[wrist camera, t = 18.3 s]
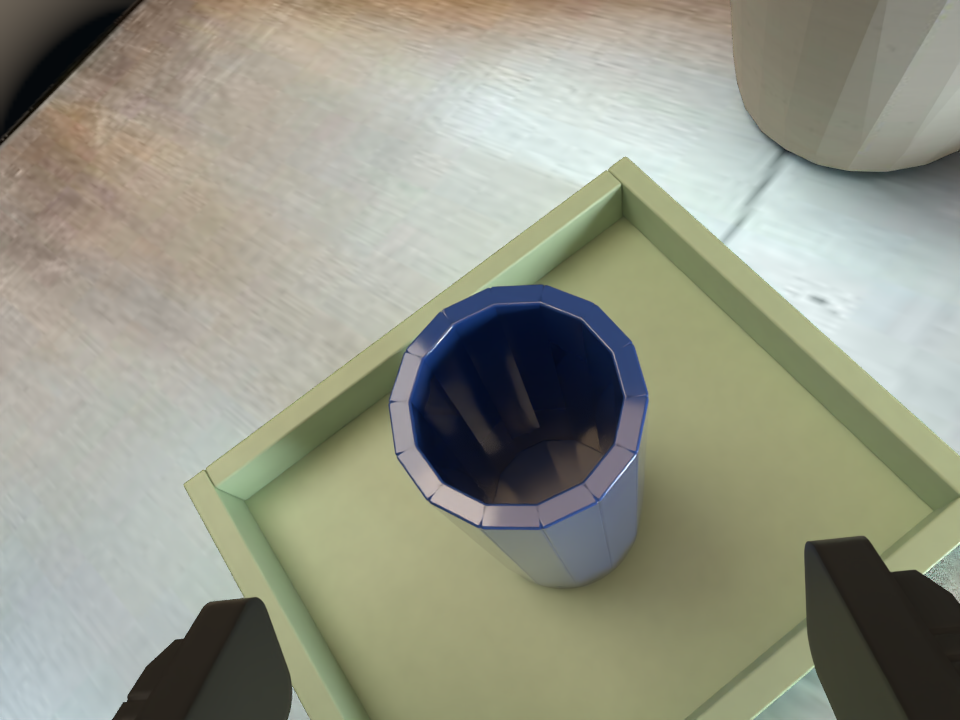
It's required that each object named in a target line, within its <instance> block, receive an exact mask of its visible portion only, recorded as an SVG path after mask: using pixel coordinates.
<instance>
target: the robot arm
mask: <svg viewBox="0 0 960 720" xmlns="http://www.w3.org/2000/svg"><path fill="white" fill-rule="evenodd" d="M804 565H805V593H806V621H807V635H808V641H809V647H810V651H811V656H812V659H813V663H814V666H815V669H816V672H817V675H818V677H819V680H820V682H821V684H822V686H823V689H824V691H825V693H826V696H827V698H828V700H829V702H830V705H831V707H832V709H833V711H834V714H835V716H836V718H837V720H960V604H959V603H958V601H957V600H956V599H955V597H954V596H953V595H952V594H951V593H950V592H948V591H947V590H945V589H944V588H942V587H941V586H939V585H938V584H936V583H935V582H933V581H932V580H930V579H929V578H927V577H926V576H925V575H923V574H922V573H920V572H919V571H917V570H916V569H915V570H905V571H895V572H890V571H889V569H888V568H887V566H886V565H885V563H884V562H883V560H882V559H881V557H880V556H879V554H878V553H877V551H876V550H875V548H874V547H873V545H872V544H871V542H870V541H869V539H867V538H866V537H865V536H853V537H843V538H833V539H824V540H814V541H807V542H806V544H805V548H804ZM127 697H128V700H127V702H123V704H122V705H121V707H120V708H119V710H118V711H117V713H116V714H115V716H114V718H113V719H112V720H287V719H288V716H289V713H290V708H291V701H292V683H291V677H290V672H289V669H288V666H287V664H286V661H285V658H284V655H283V653H282V650H281V647H280V644H279V641H278V639H277V636H276V633H275V630H274V628H273V625H272V622H271V619H270V616H269V614H268V611H267V608H266V606H265V604H264V602H263V601H262V600H261V599H260V598H258V597H251V598H241V599H232V600H222V601H213V602H209V603H207V604H206V605H205V606H204V607H203V608H202V610H201V611H200V613H199V615H198V616H197V618H196V619H195V621H194V623H193V624H192V626H191V628H190V629H189V631H188V633H187V634H186V636H185V638H184V639H176V640H174V641H173V642H172V643H171V644H170V645H169V646H168V647H167V648H166V649H165V650H164V651H163V652H161V653H160V654H159V655H158V656H157V657H156V658H155V659H154V660H153V661H152V662H151V663H150V664H149V665H147V666H146V668H145V669H144V671H143V673H142V674H141V676H140V677H139V679H138V680H137V682H136V683H135V685H134V686H133V688H132V690H131V691H130V693H129V694H128V696H127Z"/></svg>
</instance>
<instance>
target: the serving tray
mask: <svg viewBox="0 0 960 720" xmlns="http://www.w3.org/2000/svg"><path fill="white" fill-rule="evenodd" d="M536 284H543V285H544V286H545V285H549V286H551V287H554V288H556V289H559V290H562V291H564V292H567V293H570V294H572V295H575V296H577V297H580V298H583V299H585V300H588V301H591V302H593V303H594V304H595V305H598V306H599V307H600V308H601V309H602V310H603V311H604V312H605V313H606V315H607V316H608V317H609V318H610V319H611V320H612V321H613V322H614V323H615V324H616V325H617V326H618V327H619V328H620V329H621V330H622V331H623V332H624V333H625V334H626V335H627V337H628V338H629V339H630V340H631V341H632V343H633V345H634V346H635V349H636V352H637V356H638V359H639V362H640V366H641V369H642V373H643V376H644V379H645V383H646V386H647V390H648V393H649V410H648V427H647V445H646V462H645V479H644V496H643V508H642V513H641V519H640V526H639V530H638V534H637V538H636V540H635V542H634V544H633V547H632V549H631V550H630V552H629V553H628V555H627V557H626V558H625V559H624V560H623V561H622V563H621V564H620V565H619V566H618V567H617V568H616V569H615V570H614V571H613V572H611V573H610V574H608V575H607V576H605V577H604V578H602V579H600V580H598V581H596V582H595V583H592V584H589V585H586V586H583V587H578V588H573V589H554V588H548V587H543V586H540V585H537V584H534V583H532V582H530V581H528V580H526V579H524V578H522V577H521V576H519V575H518V574H516V573H515V572H513V571H511V570H509V569H507V568H506V567H505V566H504V565H503V564H501V563H500V562H499V561H498V560H497V559H495V558H494V557H493V556H492V555H491V554H489V553H488V552H487V551H486V550H485V549H483V548H482V547H481V546H480V545H479V544H478V543H476V542H475V541H474V540H473V539H472V538H470V537H469V536H468V535H467V534H466V533H464V532H463V531H462V530H461V529H460V528H458V527H457V526H456V525H455V524H454V523H453V522H451V521H450V520H449V519H448V518H447V517H445V516H444V515H443V514H442V513H441V512H439V511H438V510H437V509H436V508H435V507H433V506H432V505H431V504H430V503H429V502H428V501H427V500H426V499H425V498H424V497H423V495H422V494H421V492H420V491H419V489H418V488H417V487H416V485H415V484H414V482H413V481H412V480H411V478H410V477H409V475H408V474H407V472H406V471H405V470H404V468H403V467H402V465H401V464H400V462H399V461H398V460H397V456H396V455H395V451H394V443H393V436H392V429H391V422H390V415H389V407H388V404H389V398H390V394H391V391H392V388H393V385H394V382H395V379H396V376H397V373H398V370H399V367H400V363H401V360H402V357H403V354H404V352H406V349H407V347H408V346H409V345H410V344H411V343H412V342H413V341H414V340H415V339H416V337H417V336H418V335H419V334H420V333H421V332H422V331H423V330H424V328H425V327H426V326H427V325H428V324H429V323H430V322H431V321H432V320H433V318H434V317H435V316H436V315H437V314H438V313H439V312H440V311H441V312H442V310H443V309H445V308H447V307H449V306H451V305H453V304H455V303H457V302H459V301H461V300H463V299H466V298H468V297H470V296H472V295H474V294H476V293H478V292H480V291H482V290H484V289H487V288H491V287H496V286H516V285H536ZM184 487H185V489H186V491H187V493H188V495H189V497H190V498H191V500H192V502H193V504H194V506H195V508H196V509H197V511H198V513H199V515H200V517H201V519H202V521H203V522H204V524H205V526H206V528H207V530H208V532H209V533H210V535H211V537H212V539H213V541H214V543H215V545H216V546H217V548H218V550H219V552H220V554H221V556H222V557H223V559H224V561H225V563H226V565H227V567H228V568H229V570H230V572H231V574H232V576H233V578H234V580H235V581H236V583H237V585H238V587H239V589H240V591H241V592H242V594H243V596H244V598H251V597H258V598H260V599H261V600H262V601H263V602H264V604H265V606H266V608H267V611H268V614H269V616H270V619H271V622H272V625H273V628H274V630H275V633H276V636H277V639H278V641H279V644H280V647H281V650H282V653H283V655H284V658H285V661H286V664H287V666H288V669H289V672H290V677H291V683H292V687H293V688H294V690H295V692H296V694H297V696H298V698H299V699H300V701H301V703H302V705H303V707H304V709H305V711H306V712H307V714H308V716H309V718H310V720H753V719H754V718H755V717H756V716H758V715H759V714H760V713H761V712H762V711H763V710H765V709H766V708H767V707H768V706H769V705H771V704H772V703H773V702H774V701H775V700H776V699H778V698H779V697H780V696H781V695H782V694H784V693H785V692H786V691H787V690H788V689H789V688H791V687H792V686H793V685H794V684H795V683H797V682H798V681H799V680H800V679H801V678H802V677H804V676H805V675H806V674H807V673H808V672H810V671H811V670H812V669H813V668H814V667H815V666H814V663H813V659H812V656H811V651H810V647H809V641H808V635H807V621H806V593H805V565H804V548H805V544H806V542H807V541H814V540H824V539H833V538H843V537H853V536H865V537H866V538H867V539H869V541H870V542H871V544H872V545H873V547H874V548H875V550H876V551H877V553H878V554H879V556H880V557H881V559H882V560H883V562H884V563H885V565H886V566H887V568H888V569H889V571H890V572H895V571H905V570H915V569H916V570H917V571H919V572H920V573H922V574H923V575H924V574H925V573H926V572H928V571H929V570H930V569H931V568H932V567H934V566H935V565H936V564H937V563H938V562H939V561H941V560H942V559H943V558H944V557H945V556H946V555H948V554H949V553H950V552H951V551H952V550H954V549H955V548H956V547H957V546H958V545H959V544H960V456H959V455H958V454H957V453H956V452H955V451H954V450H952V449H951V448H950V447H949V446H948V445H947V444H946V443H945V442H944V441H942V440H941V439H940V438H939V437H938V436H937V435H936V434H935V433H934V432H932V431H931V430H930V429H929V428H928V427H927V426H926V425H925V424H923V423H922V422H921V421H920V420H919V419H918V418H917V417H916V416H915V415H913V414H912V413H911V412H910V411H909V410H908V409H907V408H906V407H905V406H903V405H902V404H901V403H900V402H899V401H898V400H897V399H896V398H895V397H893V396H892V395H891V394H890V393H889V392H888V391H887V390H886V389H885V388H883V387H882V386H881V385H880V384H879V383H878V382H877V381H876V380H875V379H873V378H872V377H871V376H870V375H869V374H868V373H867V372H866V371H865V370H863V369H862V368H861V367H860V366H859V365H858V364H857V363H856V362H854V361H853V360H852V359H851V358H850V357H849V356H848V355H847V354H846V353H844V352H843V351H842V350H841V349H840V348H839V347H838V346H837V345H836V344H834V343H833V342H832V341H831V340H830V339H829V338H828V337H827V336H826V335H824V334H823V333H822V332H821V331H820V330H819V329H818V328H817V327H816V326H814V325H813V324H812V323H811V322H810V321H809V320H808V319H807V318H806V317H804V316H803V315H802V314H801V313H800V312H799V311H798V310H797V309H795V308H794V307H793V306H792V305H791V304H790V303H789V302H788V301H787V300H785V299H784V298H783V297H782V296H781V295H780V294H779V293H778V292H777V291H775V290H774V289H773V288H772V287H771V286H770V285H769V284H768V283H767V282H765V281H764V280H763V279H762V278H761V277H760V276H759V275H758V274H757V273H755V272H754V271H753V270H752V269H751V268H750V267H749V266H748V265H747V264H745V263H744V262H743V261H742V260H741V259H740V258H739V257H738V256H737V255H735V254H734V253H733V252H732V251H731V250H730V249H729V248H728V247H726V246H725V245H724V244H723V243H722V242H721V241H720V240H719V239H718V238H716V237H715V236H714V235H713V234H712V233H711V232H710V231H709V230H708V229H706V228H705V227H704V226H703V225H702V224H701V223H700V222H699V221H698V220H696V219H695V218H694V217H693V216H692V215H691V214H690V213H689V212H688V211H686V210H685V209H684V208H683V207H682V206H681V205H680V204H679V203H678V202H676V201H675V200H674V199H673V198H672V197H671V196H670V195H669V194H667V193H666V192H665V191H664V190H663V189H662V188H661V187H660V186H659V185H657V184H656V183H655V182H654V181H653V180H652V179H651V178H650V177H649V176H647V175H646V174H645V173H644V172H643V171H642V170H641V169H640V168H639V167H637V166H636V165H635V164H634V163H633V162H632V161H631V160H630V159H629V158H627V157H623V158H622V159H621V160H619V161H618V162H617V163H615V164H614V165H613V166H611V167H610V168H609V169H608V171H607V170H606V171H604V172H603V173H602V174H600V175H599V176H598V177H596V178H595V179H594V180H592V181H591V182H590V183H588V184H587V185H586V186H584V187H583V188H582V189H580V190H579V191H577V192H576V193H575V194H573V195H572V196H571V197H569V198H568V199H567V200H565V201H564V202H563V203H561V204H560V205H559V206H557V207H556V208H555V209H553V210H552V211H551V212H549V213H548V214H547V215H545V216H544V217H543V218H541V219H540V220H539V221H537V222H536V223H534V224H533V225H532V226H530V227H529V228H528V229H526V230H525V231H524V232H522V233H521V234H520V235H518V236H517V237H516V238H514V239H513V240H512V241H510V242H509V243H508V244H506V245H505V246H504V247H502V248H501V249H500V250H498V251H497V252H496V253H494V254H493V255H491V256H490V257H489V258H487V259H486V260H485V261H483V262H482V263H481V264H479V265H478V266H477V267H475V268H474V269H473V270H471V271H470V272H469V273H467V274H466V275H465V276H463V277H462V278H461V279H459V280H458V281H457V282H455V283H454V284H453V285H451V286H450V287H448V288H447V289H446V290H444V291H443V292H442V293H440V294H439V295H438V296H436V297H435V298H434V299H432V300H431V301H430V302H428V303H427V304H426V305H424V306H423V307H422V308H420V309H419V310H418V311H416V312H415V313H414V314H412V315H411V316H410V317H408V318H407V319H405V320H404V321H403V322H401V323H400V324H399V325H397V326H396V327H395V328H393V329H392V330H391V331H389V332H388V333H387V334H385V335H384V336H383V337H381V338H380V339H379V340H377V341H376V342H375V343H373V344H372V345H371V346H369V347H368V348H366V349H365V350H364V351H362V352H361V353H360V354H358V355H357V356H356V357H354V358H353V359H352V360H350V361H349V362H348V363H346V364H345V365H344V366H342V367H341V368H340V369H338V370H337V371H336V372H334V373H333V374H332V375H330V376H329V377H328V378H326V379H325V380H323V381H322V382H321V383H319V384H318V385H317V386H315V387H314V388H313V389H311V390H310V391H309V392H307V393H306V394H305V395H303V396H302V397H301V398H299V399H298V400H297V401H295V402H294V403H293V404H291V405H290V406H289V407H287V408H286V409H285V410H283V411H282V412H280V413H279V414H278V415H276V416H275V417H274V418H272V419H271V420H270V421H268V422H267V423H266V424H264V425H263V426H262V427H260V428H259V429H258V430H256V431H255V432H254V433H252V434H251V435H250V436H248V437H247V438H246V439H244V440H243V441H242V442H240V443H239V444H237V445H236V446H235V447H233V448H232V449H231V450H229V451H228V452H227V453H225V454H224V455H223V456H221V457H220V458H219V459H217V460H216V461H215V462H213V463H212V464H211V465H209V466H208V467H207V468H206V470H202V471H201V472H199V473H198V474H197V475H195V476H194V477H193V478H191V479H190V480H189V481H187V482H186V483H185V484H184Z"/></svg>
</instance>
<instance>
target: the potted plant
mask: <svg viewBox="0 0 960 720" xmlns="http://www.w3.org/2000/svg"><path fill="white" fill-rule="evenodd" d="M730 4H731V22H732V40H733V57H734V64H735V71H736V78H737V84H738V87H739V90H740V93H741V96H742V100H743V103H744V106H745V108H746V110H747V111H748V113H749V114H750V115H751V117H752V118H753V120H754V121H755V122H756V124H757V125H758V127H759V128H760V129H761V131H762V132H763V133H764V134H766V135H767V136H769V137H770V138H771V139H773V140H774V141H775V142H777V143H778V144H779V145H781V146H782V147H783V148H785V149H786V150H788V151H790V152H792V153H794V154H796V155H798V156H800V157H803V158H805V159H807V160H809V161H811V162H813V163H815V164H817V165H822V166H827V167H832V168H837V169H842V170H847V171H871V172H888V171H894V170H899V169H905V168H910V167H915V166H921V165H926V164H929V163H931V162H933V161H935V160H938V159H940V158H942V157H944V156H947V155H949V154H951V153H954V152H956V151H958V150H960V0H730Z"/></svg>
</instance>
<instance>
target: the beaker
mask: <svg viewBox="0 0 960 720" xmlns="http://www.w3.org/2000/svg"><path fill="white" fill-rule="evenodd" d="M388 407H389V415H390V422H391V429H392V436H393V443H394V451H395V455H396V456H397V460H398V461H399V462H400V464H401V465H402V467H403V468H404V470H405V471H406V472H407V474H408V475H409V477H410V478H411V480H412V481H413V482H414V484H415V485H416V487H417V488H418V489H419V491H420V492H421V494H422V495H423V497H424V498H425V499H426V500H427V501H428V502H429V503H430V504H431V505H432V506H433V507H435V508H436V509H437V510H438V511H439V512H441V513H442V514H443V515H444V516H445V517H447V518H448V519H449V520H450V521H451V522H453V523H454V524H455V525H456V526H457V527H458V528H460V529H461V530H462V531H463V532H464V533H466V534H467V535H468V536H469V537H470V538H472V539H473V540H474V541H475V542H476V543H478V544H479V545H480V546H481V547H482V548H483V549H485V550H486V551H487V552H488V553H489V554H491V555H492V556H493V557H494V558H495V559H497V560H498V561H499V562H500V563H501V564H503V565H504V566H505V567H506V568H507V569H509V570H511V571H513V572H515V573H516V574H518V575H519V576H521V577H522V578H524V579H526V580H528V581H530V582H532V583H534V584H537V585H540V586H543V587H548V588H554V589H573V588H578V587H583V586H586V585H589V584H592V583H595V582H596V581H598V580H600V579H602V578H604V577H605V576H607V575H608V574H610V573H611V572H613V571H614V570H615V569H616V568H617V567H618V566H619V565H620V564H621V563H622V561H623V560H624V559H625V558H626V557H627V555H628V553H629V552H630V550H631V549H632V547H633V544H634V542H635V540H636V538H637V534H638V530H639V526H640V519H641V513H642V508H643V496H644V479H645V462H646V445H647V427H648V410H649V393H648V390H647V386H646V383H645V379H644V376H643V373H642V369H641V366H640V362H639V359H638V356H637V352H636V349H635V346H634V345H633V343H632V341H631V340H630V339H629V338H628V337H627V335H626V334H625V333H624V332H623V331H622V330H621V329H620V328H619V327H618V326H617V325H616V324H615V323H614V322H613V321H612V320H611V319H610V318H609V317H608V316H607V315H606V313H605V312H604V311H603V310H602V309H601V308H600V307H599V306H598V305H595V304H594V303H593V302H591V301H588V300H585V299H583V298H580V297H577V296H575V295H572V294H570V293H567V292H564V291H562V290H559V289H556V288H554V287H551V286H549V285H545V286H544V285H543V284H536V285H516V286H496V287H491V288H487V289H484V290H482V291H480V292H478V293H476V294H474V295H472V296H470V297H468V298H466V299H463V300H461V301H459V302H457V303H455V304H453V305H451V306H449V307H447V308H445V309H443V310H442V312H441V311H440V312H439V313H438V314H437V315H436V316H435V317H434V318H433V320H432V321H431V322H430V323H429V324H428V325H427V326H426V327H425V328H424V330H423V331H422V332H421V333H420V334H419V335H418V336H417V337H416V339H415V340H414V341H413V342H412V343H411V344H410V345H409V346H408V347H407V349H406V352H404V354H403V357H402V360H401V363H400V367H399V370H398V373H397V376H396V379H395V382H394V385H393V388H392V391H391V394H390V398H389V404H388Z"/></svg>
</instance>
